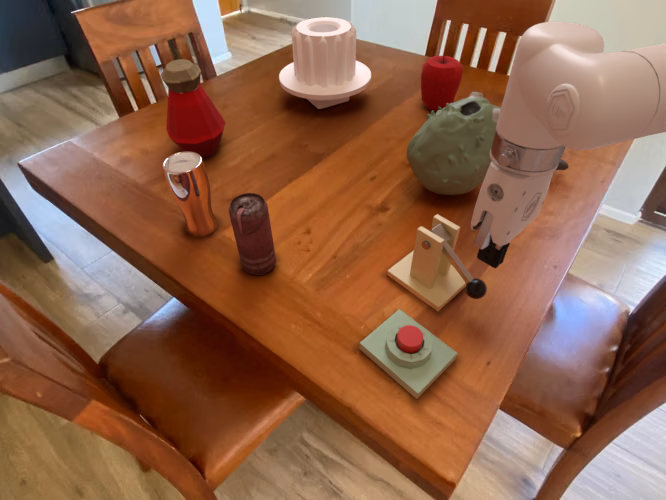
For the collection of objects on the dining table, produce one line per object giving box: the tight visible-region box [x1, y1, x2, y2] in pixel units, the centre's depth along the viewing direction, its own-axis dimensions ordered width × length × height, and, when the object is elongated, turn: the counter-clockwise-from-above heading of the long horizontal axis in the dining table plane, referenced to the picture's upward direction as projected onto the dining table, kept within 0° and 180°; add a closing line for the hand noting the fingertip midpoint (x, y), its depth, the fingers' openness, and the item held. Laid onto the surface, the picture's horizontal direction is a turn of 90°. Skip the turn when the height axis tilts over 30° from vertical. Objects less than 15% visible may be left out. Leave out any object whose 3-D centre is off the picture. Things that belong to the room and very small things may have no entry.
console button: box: [397, 325, 423, 353], centre depth 61 cm, size 4×4×2 cm
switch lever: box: [429, 224, 488, 300], centre depth 67 cm, size 13×3×3 cm
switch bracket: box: [386, 213, 466, 312], centre depth 70 cm, size 11×9×12 cm
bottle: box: [160, 59, 226, 160], centre depth 98 cm, size 16×14×20 cm
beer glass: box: [162, 151, 219, 238], centre depth 79 cm, size 7×7×15 cm
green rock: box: [406, 91, 502, 196], centre depth 85 cm, size 16×19×20 cm
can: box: [228, 192, 277, 276], centre depth 72 cm, size 6×6×14 cm
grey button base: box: [358, 308, 458, 400], centre depth 63 cm, size 11×9×4 cm
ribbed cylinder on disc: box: [278, 16, 372, 110], centre depth 115 cm, size 25×25×19 cm
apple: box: [420, 55, 464, 112], centre depth 113 cm, size 11×10×14 cm
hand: (489, 260), depth 61 cm, fingers closed
